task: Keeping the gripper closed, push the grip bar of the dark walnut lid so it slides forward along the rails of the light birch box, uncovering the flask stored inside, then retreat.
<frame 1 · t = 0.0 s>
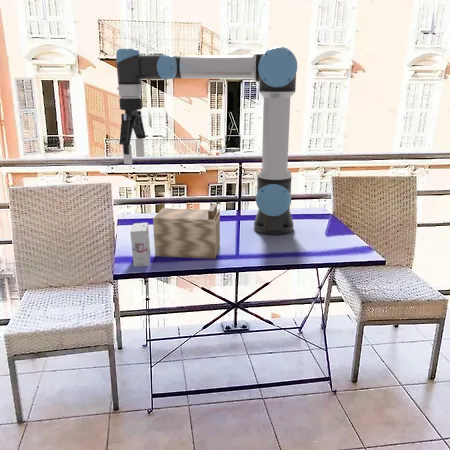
hand: (134, 160, 162), 28 cm above the table, fingers open, 13 cm apart
flask: (189, 250, 155), point 1 cm above the table, touching box
box: (188, 251, 156), on the table
ink box: (142, 261, 148), on the table
lid: (187, 211, 151), point 14 cm above the table, slide at 0.0 cm
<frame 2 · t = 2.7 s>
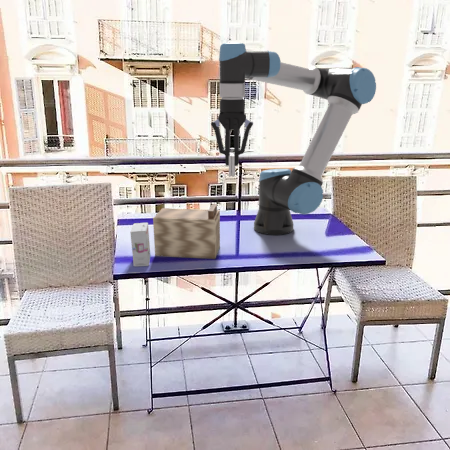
hand: (232, 175, 145), 26 cm above the table, fingers closed
nothing on the table moved.
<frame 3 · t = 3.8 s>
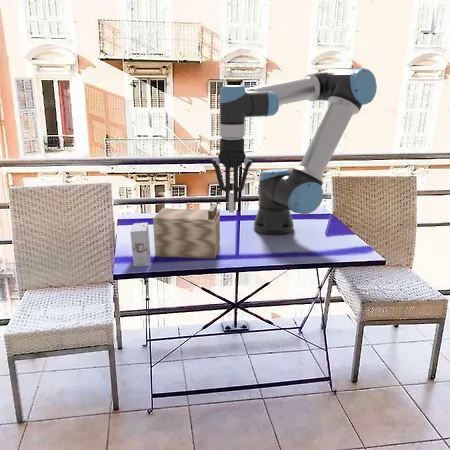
hand: (231, 211, 149), 15 cm above the table, fingers closed
nothing on the table moved.
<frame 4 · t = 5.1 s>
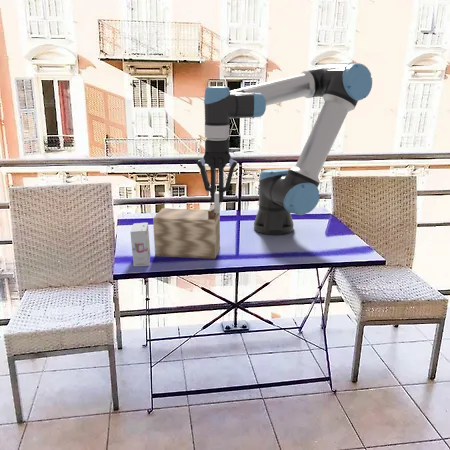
hand: (217, 211, 150), 14 cm above the table, fingers closed
lid: (187, 211, 151), point 14 cm above the table, slide at 0.0 cm, touching gripper
everything else where it was.
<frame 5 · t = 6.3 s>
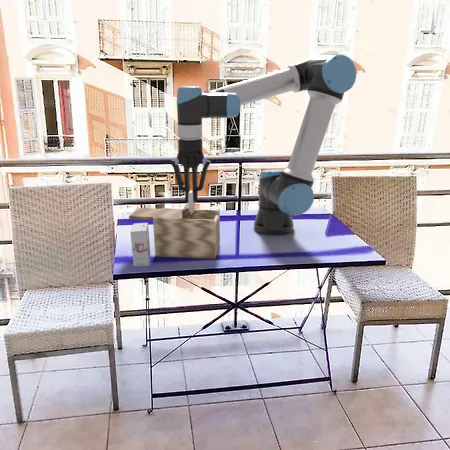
hand: (191, 210, 151), 14 cm above the table, fingers closed
lid: (162, 210, 152), point 14 cm above the table, slide at 8.5 cm, touching gripper
everything else where it was.
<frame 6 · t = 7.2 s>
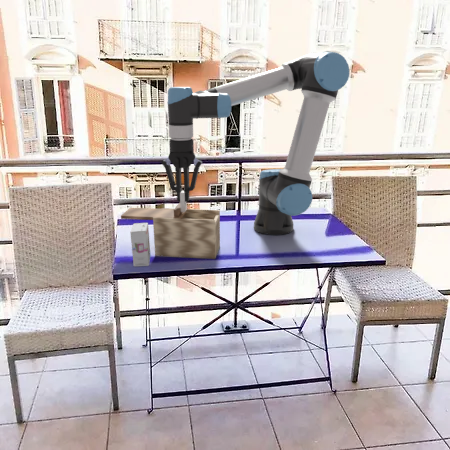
hand: (183, 210, 151), 14 cm above the table, fingers closed
lid: (154, 210, 153), point 14 cm above the table, slide at 11.2 cm, touching gripper
everything else where it was.
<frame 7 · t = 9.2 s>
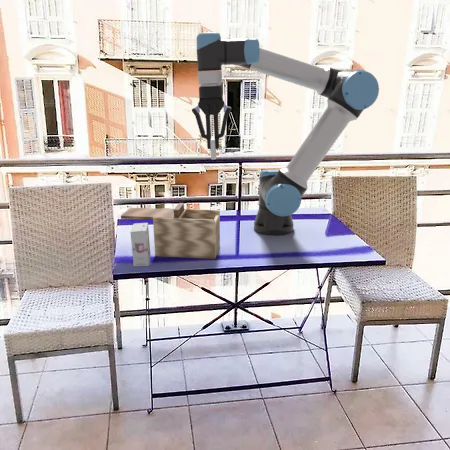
hand: (213, 158, 154), 30 cm above the table, fingers closed
lid: (154, 210, 153), point 14 cm above the table, slide at 11.2 cm
everything else where it was.
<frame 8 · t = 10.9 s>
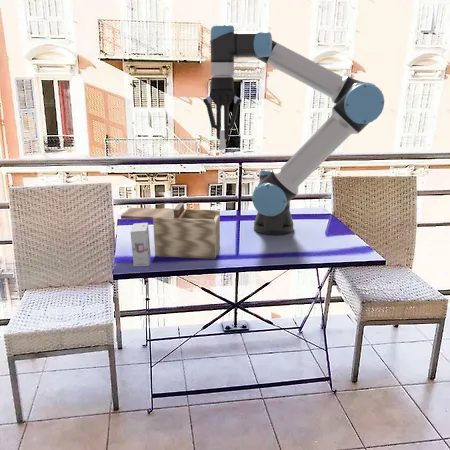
hand: (222, 148, 158), 32 cm above the table, fingers closed
nothing on the table moved.
at the end: lid slide at 11.2 cm; the gripper is holding nothing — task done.
